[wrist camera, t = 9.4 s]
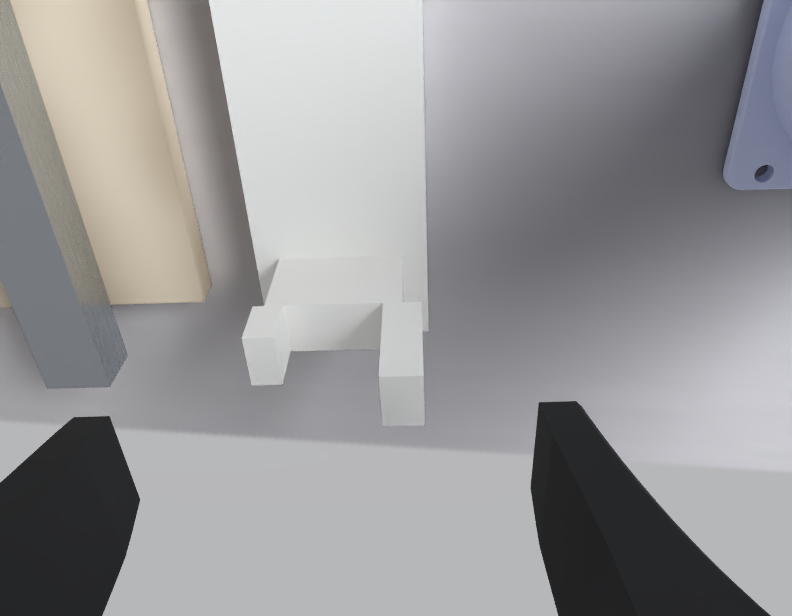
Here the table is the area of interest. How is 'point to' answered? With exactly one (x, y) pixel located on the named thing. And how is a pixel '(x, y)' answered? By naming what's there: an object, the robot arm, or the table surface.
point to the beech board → (118, 145)
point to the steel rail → (47, 237)
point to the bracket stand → (332, 182)
